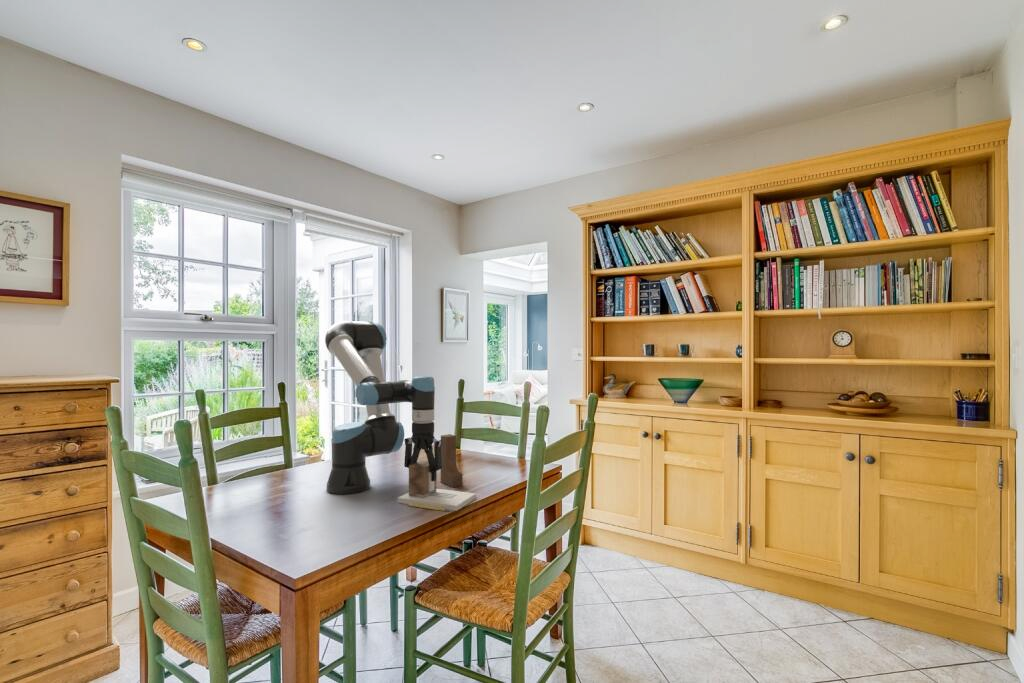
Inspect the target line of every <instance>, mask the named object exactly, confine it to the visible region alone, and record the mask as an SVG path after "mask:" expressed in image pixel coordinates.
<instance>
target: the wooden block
mask: <svg viewBox="0 0 1024 683" xmlns="http://www.w3.org/2000/svg"><path fill="white" fill-rule="evenodd" d="M440 440H442V444H441V460H442V469H440V483H441V484H444V485H446V486H448V487H450V488H457V487H461V486H463V473H462V472H461V471H459V469H458V466H457V436H456V435H454V434H449V433H448V434H442V435H440Z"/></svg>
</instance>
